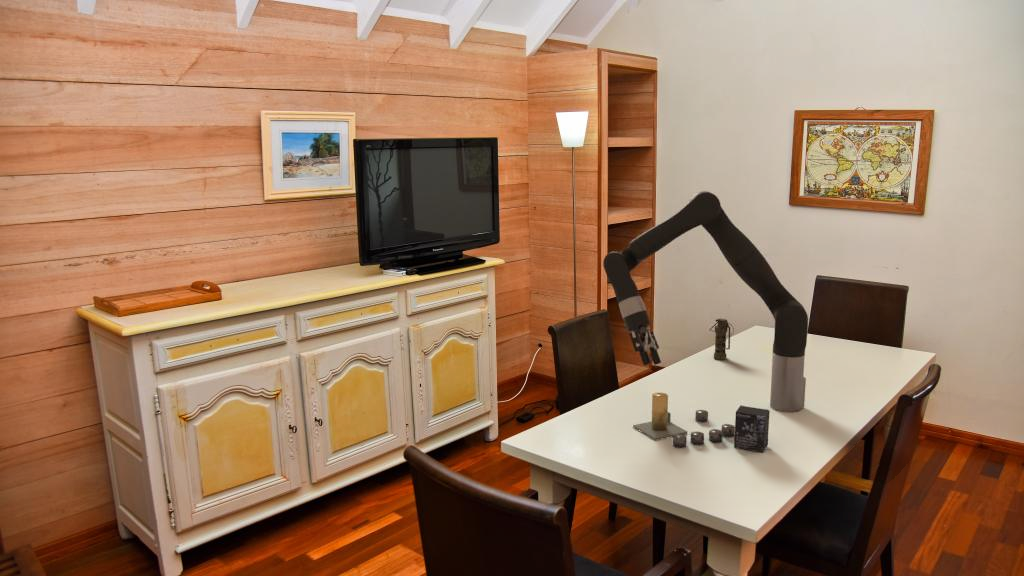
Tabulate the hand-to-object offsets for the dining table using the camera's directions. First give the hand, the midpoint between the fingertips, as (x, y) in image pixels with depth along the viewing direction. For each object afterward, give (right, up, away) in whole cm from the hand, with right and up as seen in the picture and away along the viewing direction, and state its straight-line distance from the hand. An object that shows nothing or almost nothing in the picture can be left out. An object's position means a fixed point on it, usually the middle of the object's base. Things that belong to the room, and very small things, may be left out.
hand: (652, 364), depth 233 cm
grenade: (+36, -4, +57) cm, 67 cm away
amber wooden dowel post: (0, -18, -9) cm, 20 cm away
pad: (0, -18, -9) cm, 20 cm away
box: (+23, -21, -22) cm, 38 cm away
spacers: (+8, -18, -10) cm, 22 cm away
